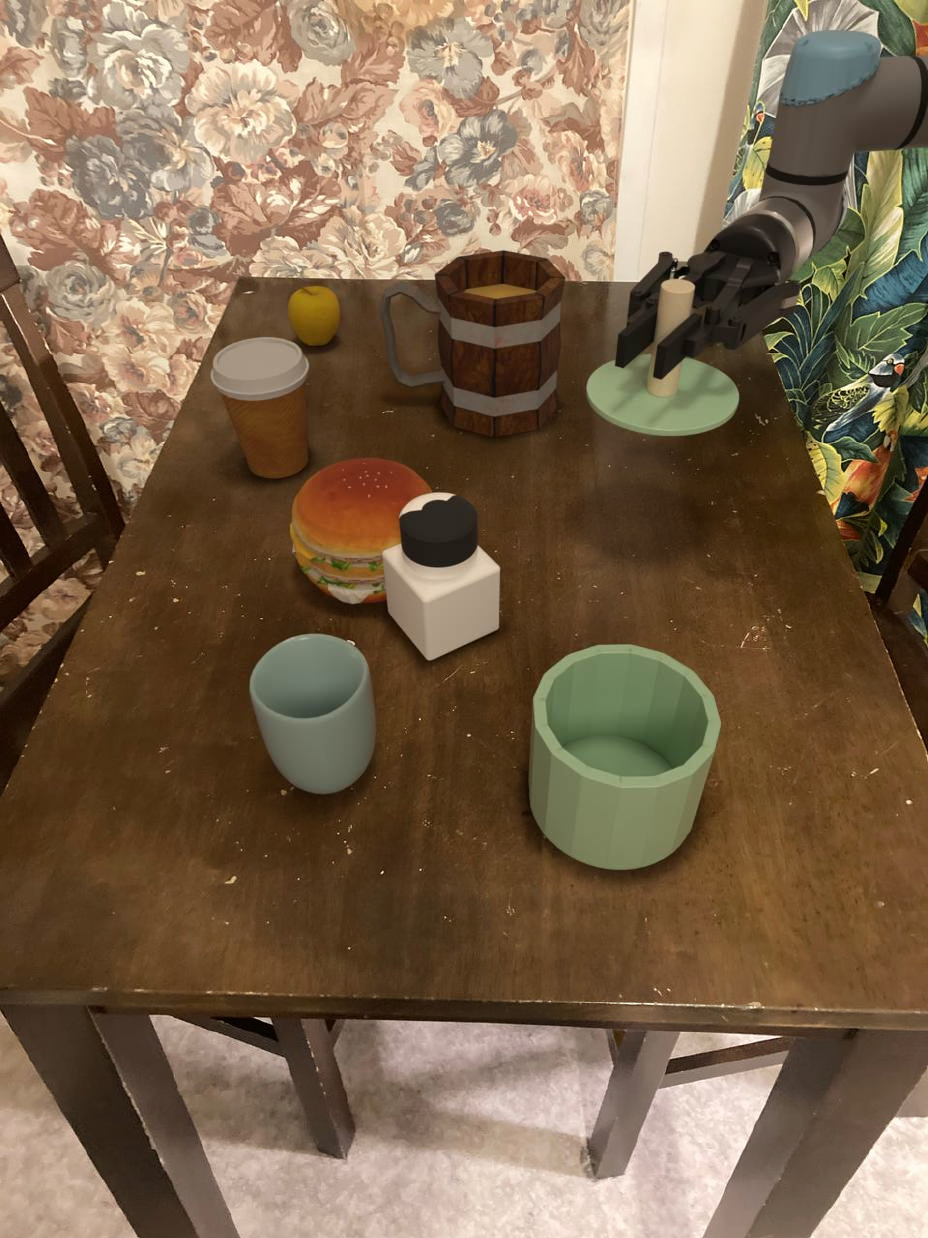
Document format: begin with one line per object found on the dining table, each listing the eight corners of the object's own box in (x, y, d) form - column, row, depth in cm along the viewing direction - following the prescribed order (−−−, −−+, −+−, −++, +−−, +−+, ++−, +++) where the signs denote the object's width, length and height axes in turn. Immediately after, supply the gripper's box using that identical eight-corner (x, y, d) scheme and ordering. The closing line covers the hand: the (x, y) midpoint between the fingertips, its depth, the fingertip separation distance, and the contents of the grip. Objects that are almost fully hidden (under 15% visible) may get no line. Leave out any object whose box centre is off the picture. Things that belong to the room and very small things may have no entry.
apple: (285, 352, 110) (274, 290, 104) (306, 329, 114) (297, 269, 108) (332, 358, 108) (323, 296, 103) (351, 335, 112) (344, 274, 107)
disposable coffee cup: (341, 459, 92) (327, 355, 84) (270, 499, 87) (246, 393, 79) (286, 427, 97) (267, 325, 89) (215, 463, 92) (188, 359, 84)
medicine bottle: (500, 630, 73) (503, 517, 65) (428, 663, 71) (420, 551, 62) (456, 582, 78) (453, 471, 69) (386, 612, 75) (374, 501, 67)
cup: (341, 828, 60) (321, 738, 53) (253, 783, 63) (223, 692, 56) (401, 748, 65) (390, 657, 58) (317, 710, 67) (297, 618, 60)
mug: (558, 377, 104) (566, 251, 93) (556, 439, 94) (564, 306, 84) (396, 372, 105) (386, 247, 95) (378, 433, 96) (364, 301, 85)
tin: (708, 758, 63) (734, 671, 57) (674, 894, 56) (699, 812, 49) (557, 713, 67) (565, 626, 60) (505, 836, 59) (507, 752, 52)
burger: (429, 624, 74) (423, 532, 67) (276, 610, 76) (255, 519, 69) (453, 527, 83) (450, 438, 76) (317, 516, 85) (302, 428, 78)
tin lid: (747, 379, 77) (774, 265, 70) (721, 455, 68) (748, 333, 61) (607, 356, 81) (619, 244, 73) (566, 425, 72) (575, 307, 65)
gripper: (829, 314, 80) (726, 429, 66) (672, 276, 86) (550, 373, 73) (853, 230, 74) (747, 336, 61) (684, 196, 81) (555, 285, 67)
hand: (640, 356), depth 67 cm, fingers closed on tin lid, 3 cm apart
